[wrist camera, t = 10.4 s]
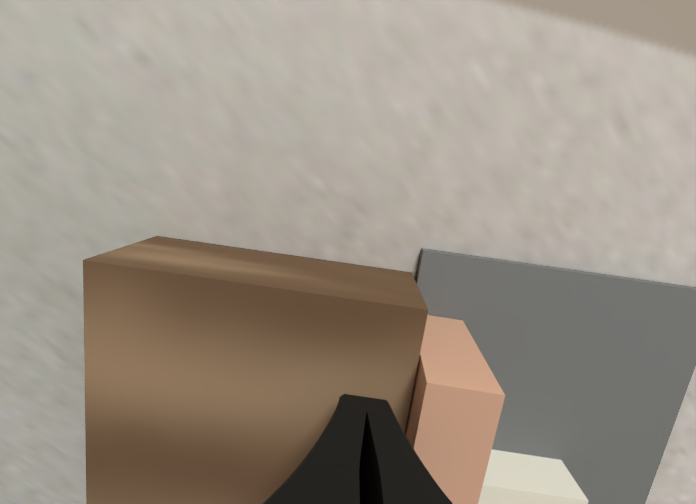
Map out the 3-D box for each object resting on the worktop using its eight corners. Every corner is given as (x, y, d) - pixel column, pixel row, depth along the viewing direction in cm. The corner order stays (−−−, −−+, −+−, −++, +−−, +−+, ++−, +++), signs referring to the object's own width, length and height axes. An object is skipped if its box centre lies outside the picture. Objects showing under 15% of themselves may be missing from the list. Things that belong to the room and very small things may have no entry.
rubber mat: (601, 598, 18) (606, 607, 17) (364, 561, 18) (364, 570, 17) (712, 289, 14) (722, 293, 14) (421, 248, 15) (423, 250, 14)
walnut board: (363, 543, 18) (362, 650, 14) (148, 510, 18) (87, 606, 14) (411, 272, 15) (428, 309, 11) (156, 236, 15) (83, 259, 11)
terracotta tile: (393, 404, 16) (443, 412, 16) (400, 510, 11) (472, 523, 11) (410, 312, 15) (462, 320, 15) (427, 382, 10) (505, 395, 10)
